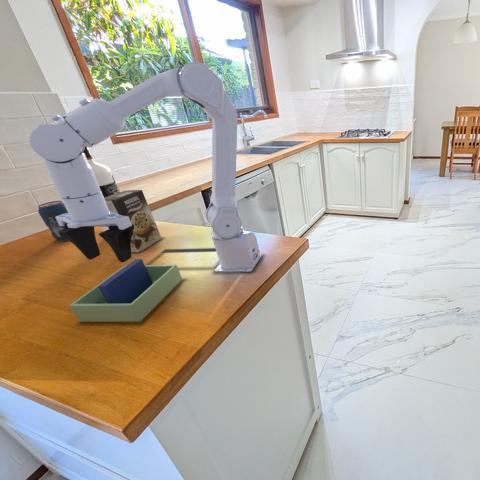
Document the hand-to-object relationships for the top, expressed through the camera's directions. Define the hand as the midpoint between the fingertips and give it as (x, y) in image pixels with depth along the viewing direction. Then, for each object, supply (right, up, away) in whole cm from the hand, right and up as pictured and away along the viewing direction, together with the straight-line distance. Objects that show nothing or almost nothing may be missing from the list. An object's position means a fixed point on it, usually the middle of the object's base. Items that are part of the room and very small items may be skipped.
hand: (110, 258), depth 59 cm
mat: (+5, -1, +19) cm, 20 cm away
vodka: (-27, +6, +38) cm, 48 cm away
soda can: (-45, +5, +38) cm, 60 cm away
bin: (+2, -9, +4) cm, 11 cm away
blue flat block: (+2, -9, +4) cm, 10 cm away
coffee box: (-14, +2, +29) cm, 32 cm away
